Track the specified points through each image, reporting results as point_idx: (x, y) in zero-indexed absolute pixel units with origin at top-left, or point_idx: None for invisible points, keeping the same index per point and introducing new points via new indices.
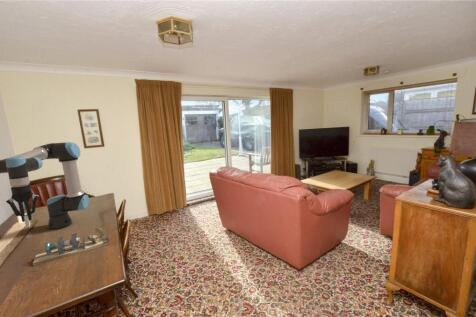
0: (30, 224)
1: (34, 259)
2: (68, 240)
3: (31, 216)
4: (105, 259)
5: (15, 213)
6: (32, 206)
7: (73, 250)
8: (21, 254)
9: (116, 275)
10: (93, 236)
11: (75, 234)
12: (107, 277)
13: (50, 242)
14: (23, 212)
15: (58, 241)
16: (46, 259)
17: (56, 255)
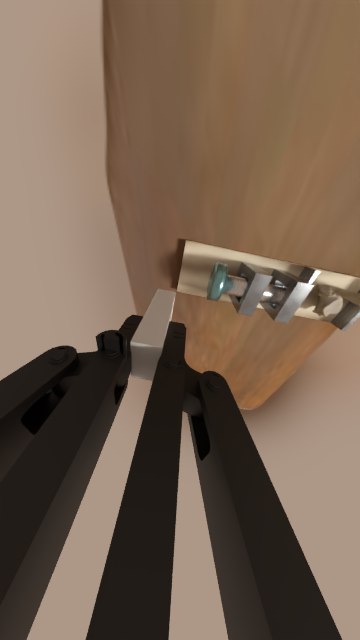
0: (175, 293)
1: (180, 271)
2: (269, 299)
3: (184, 343)
4: (275, 366)
5: (39, 414)
6: (211, 525)
7: (259, 301)
8: (145, 152)
9: (257, 402)
10: (332, 303)
11: (303, 295)
12: (248, 399)
13: (227, 271)
14: (115, 411)
15: (243, 311)
16: (202, 296)
17: (223, 293)
